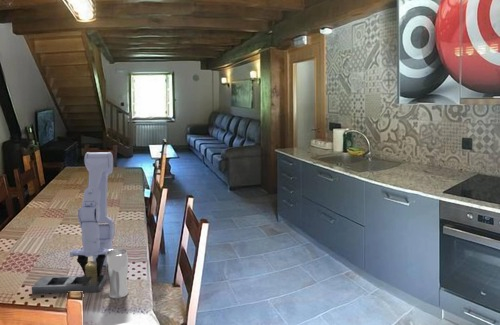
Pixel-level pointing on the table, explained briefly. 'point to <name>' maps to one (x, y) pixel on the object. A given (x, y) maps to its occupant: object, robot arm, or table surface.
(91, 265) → the block
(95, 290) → the rail
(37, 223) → the table surface
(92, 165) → the robot arm
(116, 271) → the beer glass
